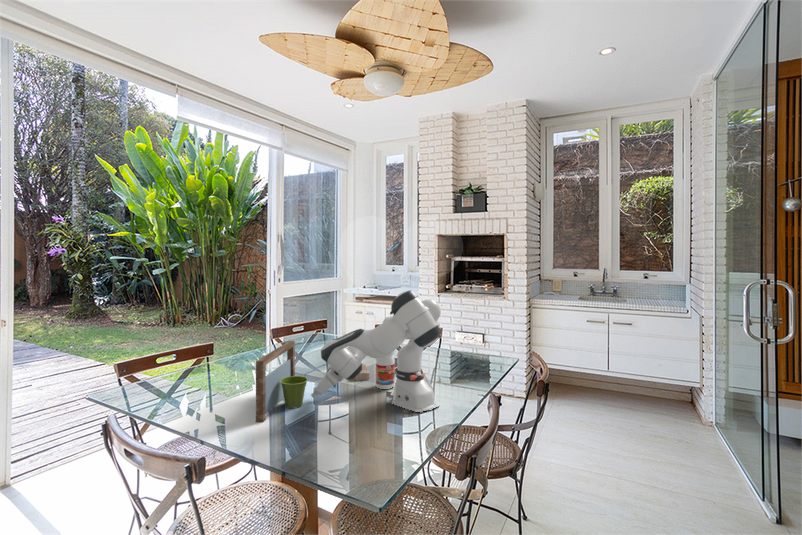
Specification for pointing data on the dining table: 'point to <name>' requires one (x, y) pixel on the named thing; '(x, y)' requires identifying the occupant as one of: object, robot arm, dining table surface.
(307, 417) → the dining table surface
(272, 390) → the door
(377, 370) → the fruit juice
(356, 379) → the brick
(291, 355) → the door frame
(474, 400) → the dining table surface
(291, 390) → the plant pot
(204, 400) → the dining table surface
